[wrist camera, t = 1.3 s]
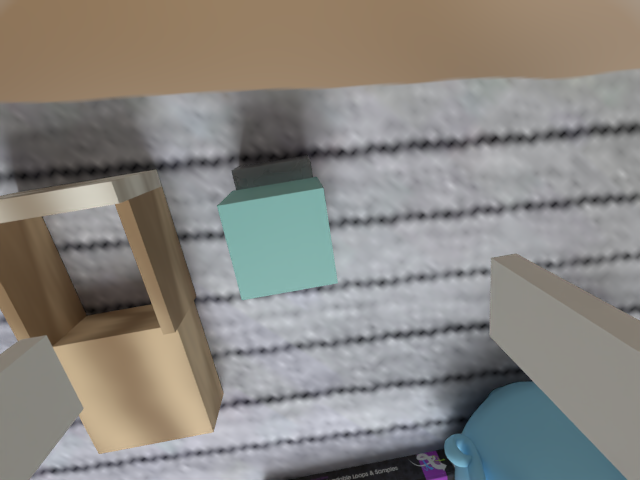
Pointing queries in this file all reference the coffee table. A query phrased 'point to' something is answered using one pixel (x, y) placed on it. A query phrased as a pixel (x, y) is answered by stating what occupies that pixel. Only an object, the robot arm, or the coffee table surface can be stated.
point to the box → (396, 469)
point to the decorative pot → (525, 441)
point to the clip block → (279, 237)
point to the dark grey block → (272, 172)
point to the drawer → (114, 315)
